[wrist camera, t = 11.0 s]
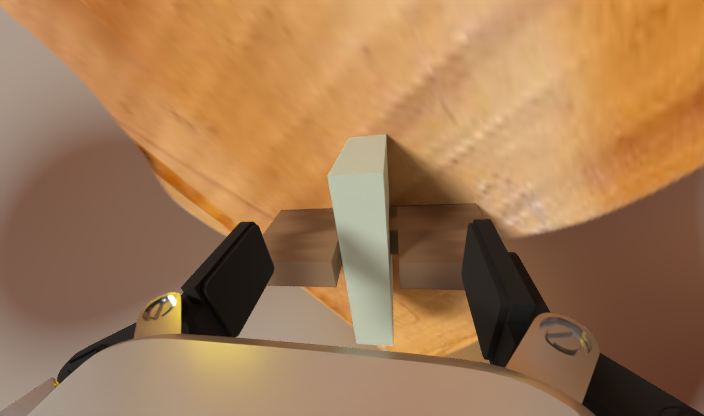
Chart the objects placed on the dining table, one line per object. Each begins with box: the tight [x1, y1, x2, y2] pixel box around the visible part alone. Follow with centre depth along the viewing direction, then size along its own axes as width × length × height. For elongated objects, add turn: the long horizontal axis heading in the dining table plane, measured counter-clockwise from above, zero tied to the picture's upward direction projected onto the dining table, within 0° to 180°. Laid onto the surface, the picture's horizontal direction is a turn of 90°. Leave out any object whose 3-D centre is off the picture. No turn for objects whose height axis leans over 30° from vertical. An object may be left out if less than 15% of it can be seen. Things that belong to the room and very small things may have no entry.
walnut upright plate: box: [262, 203, 484, 290], centre depth 21 cm, size 18×2×8 cm, turn 97°
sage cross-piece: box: [327, 134, 393, 346], centre depth 20 cm, size 3×15×8 cm, turn 6°
